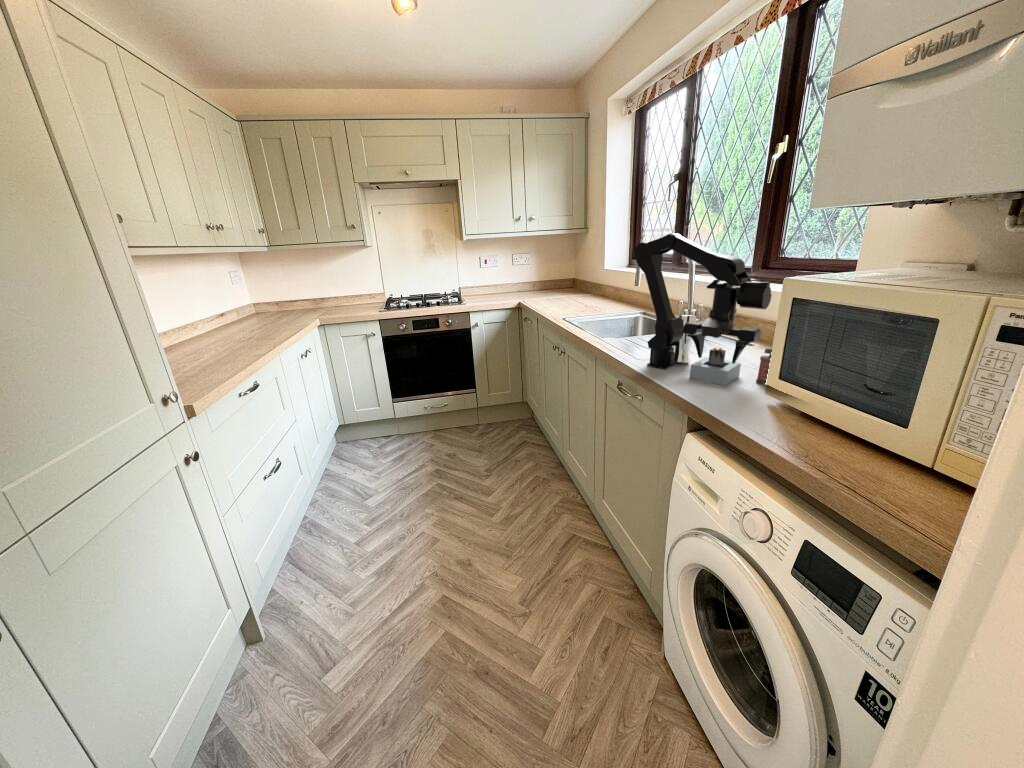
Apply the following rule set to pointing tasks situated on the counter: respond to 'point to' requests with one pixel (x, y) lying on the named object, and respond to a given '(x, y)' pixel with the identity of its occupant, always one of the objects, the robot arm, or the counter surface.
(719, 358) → the cell
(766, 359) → the red decorated tea tin
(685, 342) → the shiny silver cylinder
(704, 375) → the box
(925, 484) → the counter surface
